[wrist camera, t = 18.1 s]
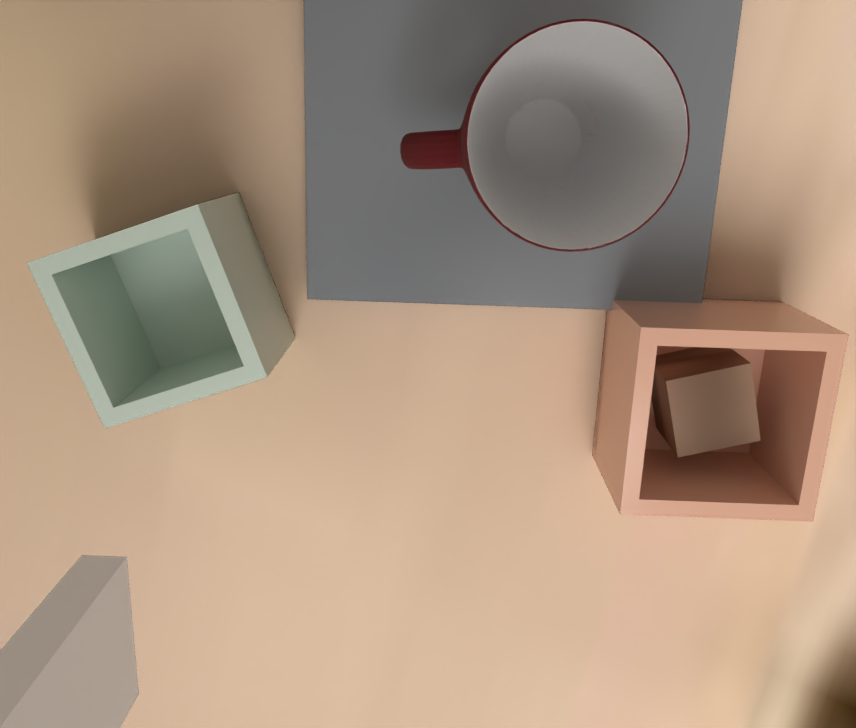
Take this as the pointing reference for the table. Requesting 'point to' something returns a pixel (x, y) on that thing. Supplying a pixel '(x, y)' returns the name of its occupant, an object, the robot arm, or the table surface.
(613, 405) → the tan open box
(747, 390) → the tan cube
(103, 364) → the sage open box
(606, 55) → the mug
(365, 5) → the slate board
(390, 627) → the table surface
